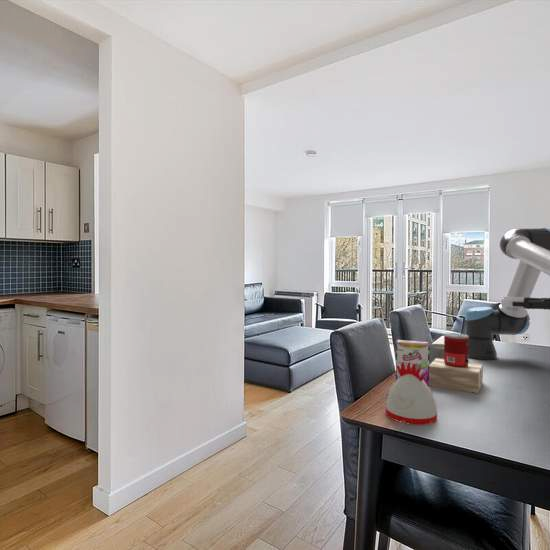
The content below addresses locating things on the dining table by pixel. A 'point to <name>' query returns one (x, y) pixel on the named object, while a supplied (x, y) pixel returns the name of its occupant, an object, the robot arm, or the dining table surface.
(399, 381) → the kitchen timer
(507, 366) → the dining table surface
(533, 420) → the dining table surface
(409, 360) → the candy bar box
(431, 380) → the oak box
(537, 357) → the dining table surface
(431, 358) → the coffee mug
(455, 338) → the canned food
